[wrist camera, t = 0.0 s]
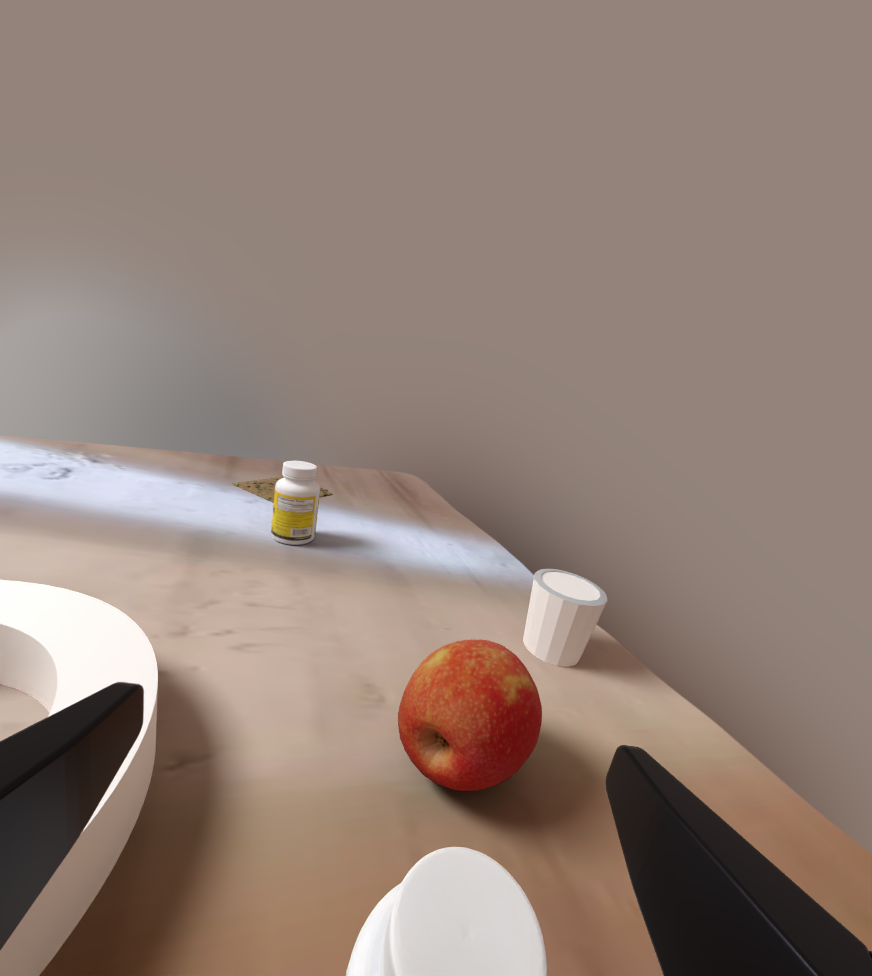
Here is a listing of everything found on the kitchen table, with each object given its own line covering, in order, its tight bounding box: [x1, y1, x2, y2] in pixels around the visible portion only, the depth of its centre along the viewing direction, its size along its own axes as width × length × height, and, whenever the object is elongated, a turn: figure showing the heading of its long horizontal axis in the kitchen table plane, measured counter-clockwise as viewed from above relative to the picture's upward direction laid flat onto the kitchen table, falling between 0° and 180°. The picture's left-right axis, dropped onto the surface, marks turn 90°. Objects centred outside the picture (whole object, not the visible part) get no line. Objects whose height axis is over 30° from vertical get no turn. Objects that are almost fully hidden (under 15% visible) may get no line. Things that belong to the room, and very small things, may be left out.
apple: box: [398, 640, 542, 791], centre depth 26 cm, size 8×8×8 cm
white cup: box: [523, 569, 607, 667], centre depth 40 cm, size 7×7×7 cm
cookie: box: [232, 477, 332, 503], centre depth 71 cm, size 12×12×1 cm
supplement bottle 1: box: [271, 461, 320, 545], centre depth 53 cm, size 5×5×10 cm
